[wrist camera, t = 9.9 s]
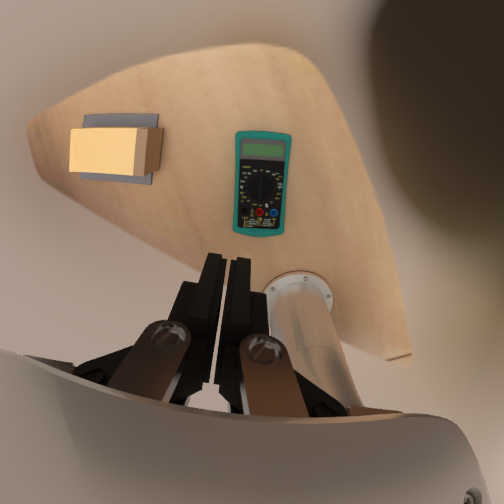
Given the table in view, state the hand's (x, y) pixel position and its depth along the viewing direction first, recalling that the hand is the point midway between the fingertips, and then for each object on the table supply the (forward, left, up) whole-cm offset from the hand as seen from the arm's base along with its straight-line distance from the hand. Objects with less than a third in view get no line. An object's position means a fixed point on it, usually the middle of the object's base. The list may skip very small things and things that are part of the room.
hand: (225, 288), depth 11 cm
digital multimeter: (-1, -2, -30) cm, 30 cm away
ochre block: (+2, +12, -26) cm, 29 cm away
